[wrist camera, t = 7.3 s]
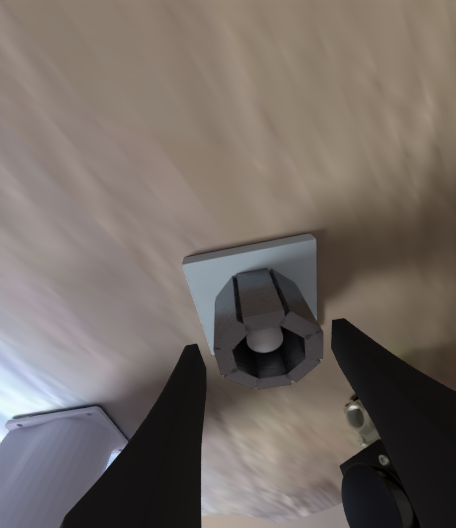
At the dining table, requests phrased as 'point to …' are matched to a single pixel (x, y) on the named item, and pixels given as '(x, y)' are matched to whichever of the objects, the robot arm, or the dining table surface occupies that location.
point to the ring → (261, 317)
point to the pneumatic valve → (373, 480)
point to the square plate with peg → (247, 259)
